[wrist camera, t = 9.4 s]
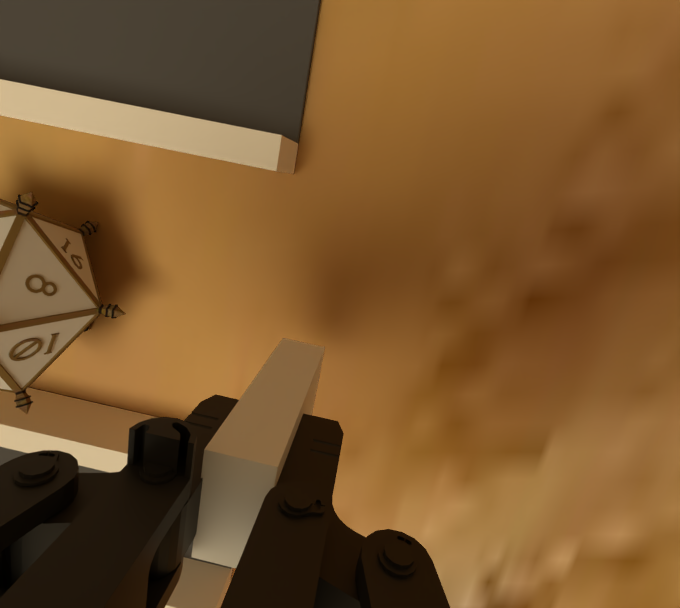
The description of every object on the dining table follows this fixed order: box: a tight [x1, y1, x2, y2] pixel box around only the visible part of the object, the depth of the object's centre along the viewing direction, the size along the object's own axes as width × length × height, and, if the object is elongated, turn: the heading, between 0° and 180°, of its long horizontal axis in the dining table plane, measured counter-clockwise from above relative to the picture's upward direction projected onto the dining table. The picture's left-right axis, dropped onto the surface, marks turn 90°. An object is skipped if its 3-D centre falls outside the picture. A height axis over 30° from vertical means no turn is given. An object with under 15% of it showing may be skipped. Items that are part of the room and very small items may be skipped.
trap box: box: [0, 79, 298, 608], centre depth 18 cm, size 18×32×3 cm, turn 170°
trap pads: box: [0, 0, 321, 569], centre depth 20 cm, size 16×29×1 cm, turn 170°
